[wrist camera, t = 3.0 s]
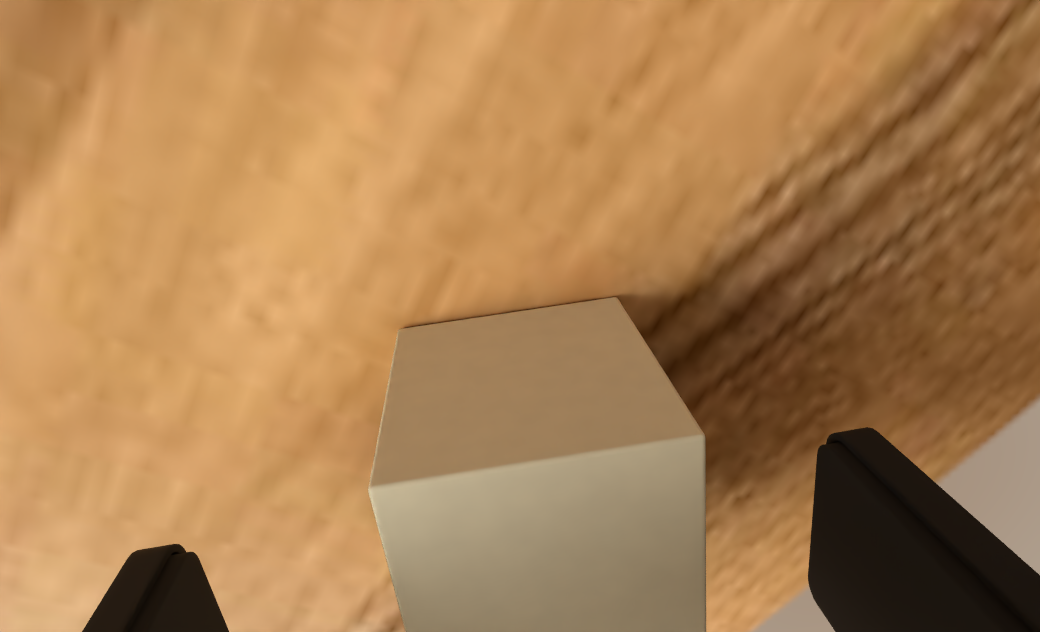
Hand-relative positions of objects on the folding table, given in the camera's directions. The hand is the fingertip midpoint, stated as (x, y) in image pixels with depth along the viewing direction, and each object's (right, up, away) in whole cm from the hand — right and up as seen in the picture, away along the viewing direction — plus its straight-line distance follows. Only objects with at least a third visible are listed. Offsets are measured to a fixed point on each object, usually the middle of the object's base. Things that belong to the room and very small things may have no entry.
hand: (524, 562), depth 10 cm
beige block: (0, +2, +3) cm, 3 cm away
